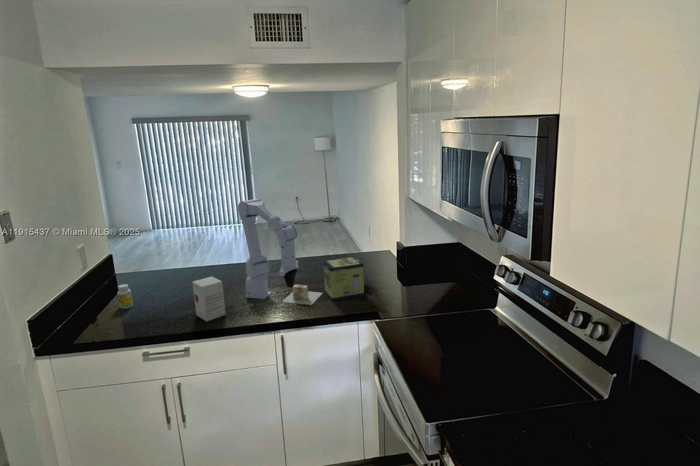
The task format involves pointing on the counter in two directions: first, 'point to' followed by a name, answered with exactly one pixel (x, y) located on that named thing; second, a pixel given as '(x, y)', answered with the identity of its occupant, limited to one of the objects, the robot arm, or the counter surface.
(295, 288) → the maple block
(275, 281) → the counter surface
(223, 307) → the supplement box
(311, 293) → the grey rubber mat
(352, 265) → the protein box
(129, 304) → the supplement bottle
